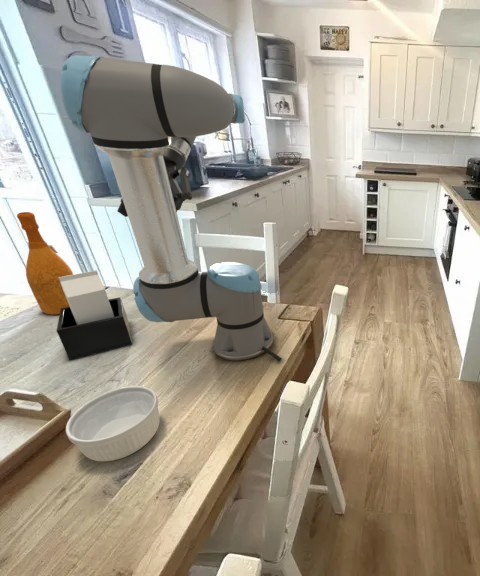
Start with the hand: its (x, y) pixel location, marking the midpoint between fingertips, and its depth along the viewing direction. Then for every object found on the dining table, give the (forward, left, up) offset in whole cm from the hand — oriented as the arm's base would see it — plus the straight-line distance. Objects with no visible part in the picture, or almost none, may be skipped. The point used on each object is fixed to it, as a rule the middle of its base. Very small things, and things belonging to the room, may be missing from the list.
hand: (145, 216), depth 89 cm
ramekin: (-46, +14, -31) cm, 57 cm away
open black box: (-6, +17, -31) cm, 36 cm away
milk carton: (-6, +17, -30) cm, 35 cm away
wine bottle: (+20, +26, -31) cm, 45 cm away
